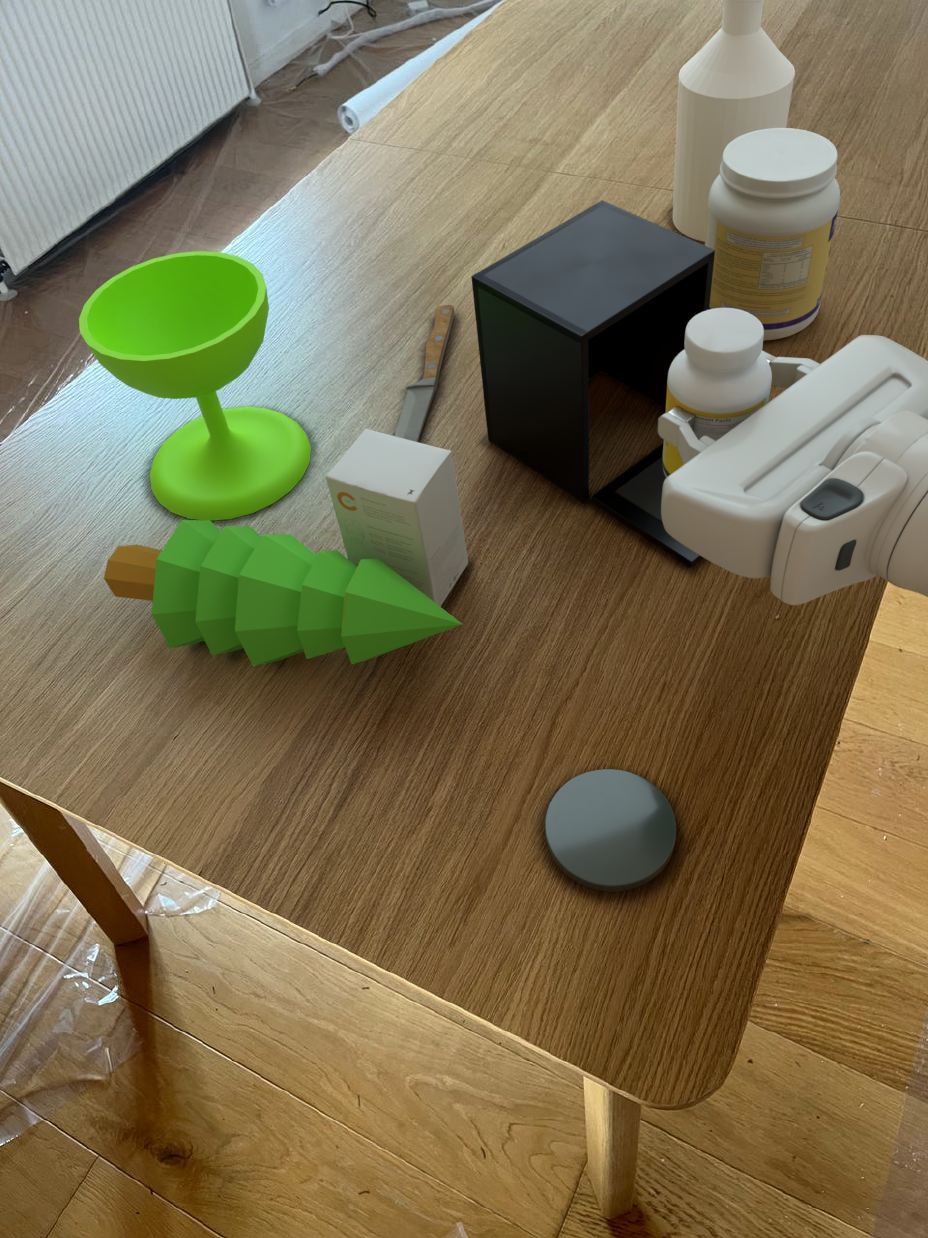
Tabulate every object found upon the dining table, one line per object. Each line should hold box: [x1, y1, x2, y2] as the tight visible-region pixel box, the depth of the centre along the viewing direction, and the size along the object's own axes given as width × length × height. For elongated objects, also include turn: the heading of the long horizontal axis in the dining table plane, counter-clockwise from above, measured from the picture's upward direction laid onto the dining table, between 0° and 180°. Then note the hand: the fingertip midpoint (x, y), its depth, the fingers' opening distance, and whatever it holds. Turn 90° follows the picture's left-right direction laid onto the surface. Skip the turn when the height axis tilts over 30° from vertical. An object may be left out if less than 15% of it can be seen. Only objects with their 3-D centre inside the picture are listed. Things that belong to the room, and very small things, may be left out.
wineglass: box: [78, 250, 312, 522], centre depth 93 cm, size 16×16×18 cm
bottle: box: [672, 0, 796, 243], centre depth 110 cm, size 12×12×25 cm
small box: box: [325, 428, 469, 608], centre depth 83 cm, size 8×6×13 cm
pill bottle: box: [662, 308, 772, 478], centre depth 67 cm, size 6×6×12 cm
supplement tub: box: [704, 127, 841, 341], centre depth 101 cm, size 12×12×17 cm
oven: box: [471, 199, 715, 569], centre depth 88 cm, size 25×16×18 cm, turn 41°
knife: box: [394, 304, 455, 442], centre depth 103 cm, size 31×1×3 cm
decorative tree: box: [103, 519, 463, 667], centre depth 81 cm, size 11×12×30 cm
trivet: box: [544, 768, 677, 893], centre depth 71 cm, size 9×9×1 cm
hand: (706, 390), depth 67 cm, fingers closed on pill bottle, 6 cm apart
